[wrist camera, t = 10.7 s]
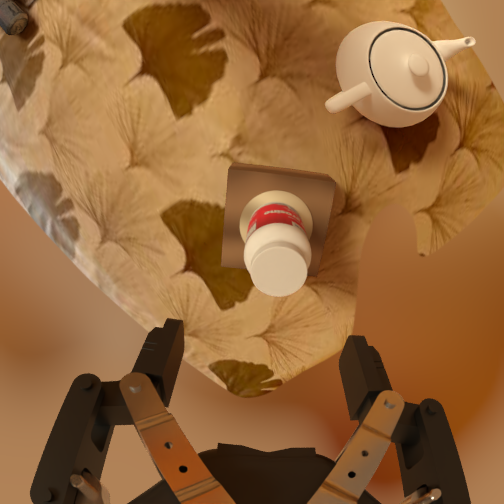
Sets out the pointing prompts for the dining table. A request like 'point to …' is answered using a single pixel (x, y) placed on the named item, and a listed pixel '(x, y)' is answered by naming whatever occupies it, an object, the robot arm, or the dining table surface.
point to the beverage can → (12, 17)
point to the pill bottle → (277, 249)
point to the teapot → (393, 73)
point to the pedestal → (275, 190)
